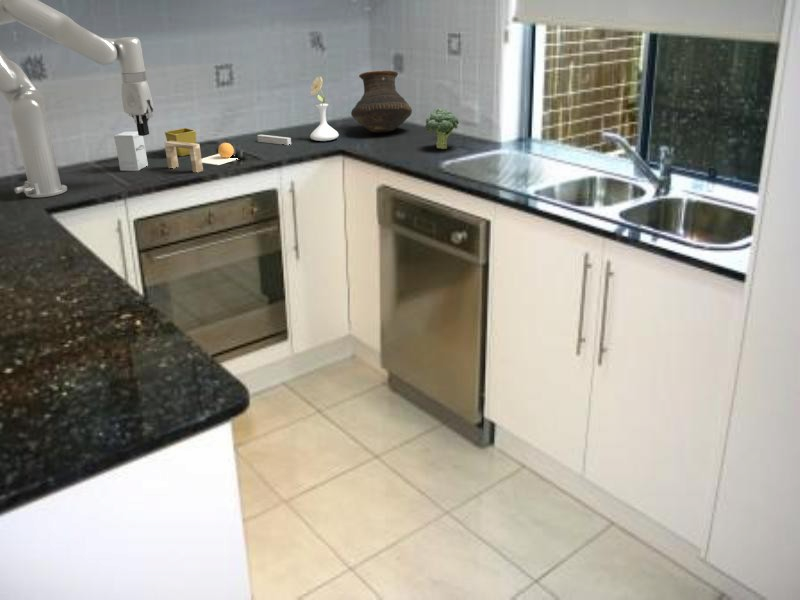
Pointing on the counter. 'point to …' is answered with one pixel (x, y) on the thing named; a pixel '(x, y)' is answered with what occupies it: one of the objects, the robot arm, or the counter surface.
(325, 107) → the flower in vase
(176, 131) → the flower pot
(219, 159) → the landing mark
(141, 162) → the supplement box
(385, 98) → the ceramic pot
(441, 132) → the vegetable
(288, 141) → the wall
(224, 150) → the ball
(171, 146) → the bridge
